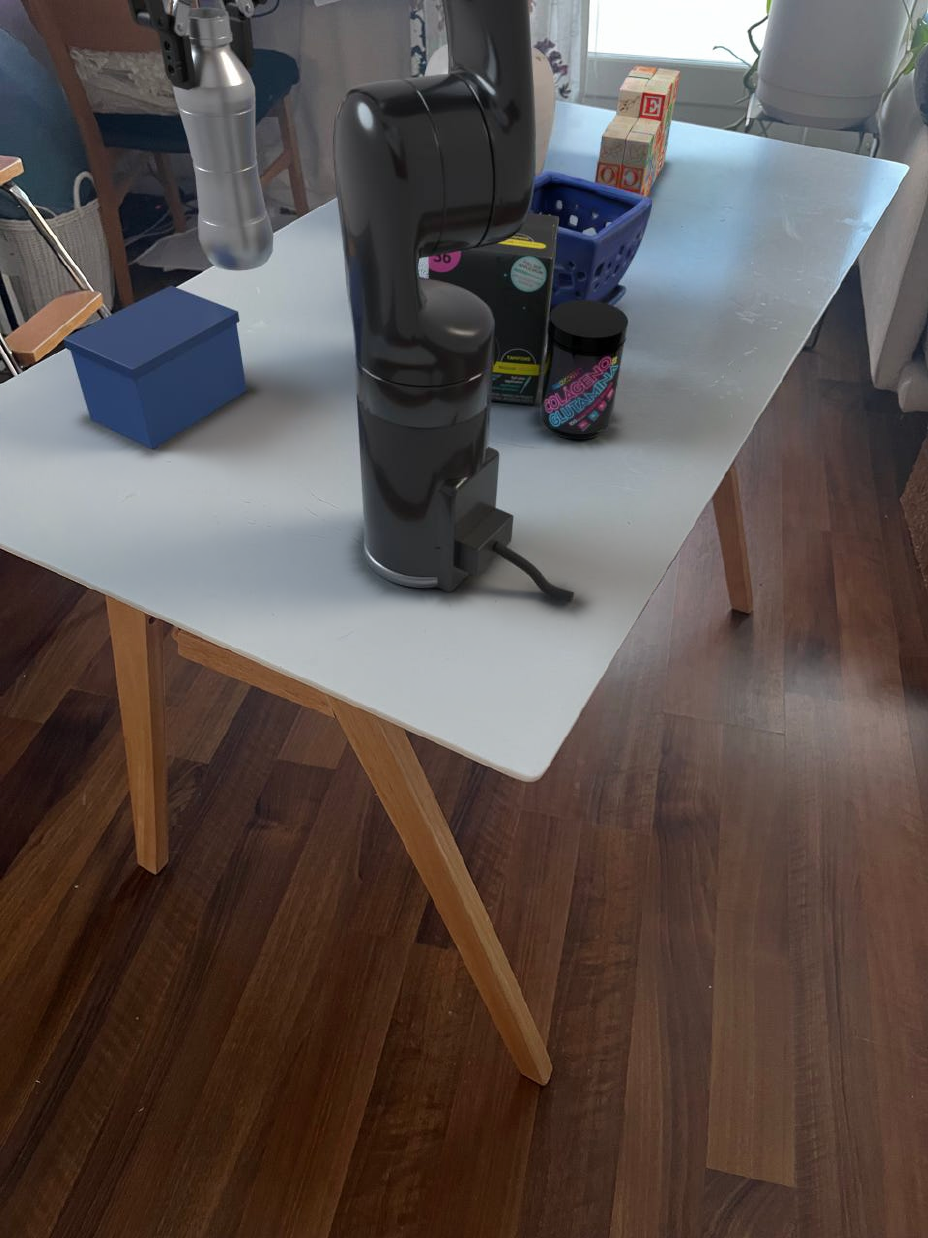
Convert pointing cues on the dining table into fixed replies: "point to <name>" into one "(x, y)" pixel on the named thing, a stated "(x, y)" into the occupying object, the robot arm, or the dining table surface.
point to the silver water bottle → (224, 147)
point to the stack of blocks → (638, 131)
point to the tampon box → (511, 300)
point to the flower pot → (586, 259)
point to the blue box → (159, 365)
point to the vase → (542, 95)
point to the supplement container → (582, 368)
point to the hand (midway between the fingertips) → (213, 76)
